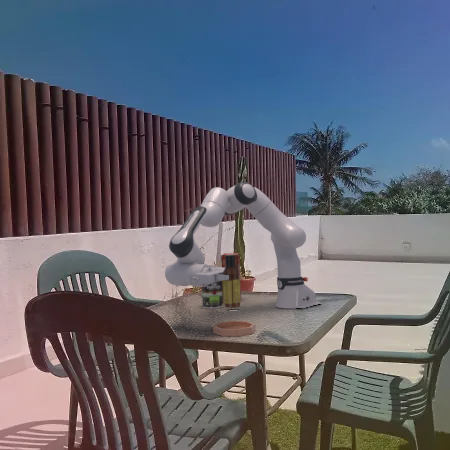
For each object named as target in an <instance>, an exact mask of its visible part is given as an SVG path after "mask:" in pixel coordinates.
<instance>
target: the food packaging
mask: <svg viewBox="0 0 450 450" xmlns="http://www.w3.org/2000/svg"><path fill="white" fill-rule="evenodd" d="M225 255H236V258H235V264H236V267H237V269H238V271H239V280H240V281H241V264H240V263H241V253H240V252H238V253H237V252H234V253H233V252H231V253H228V252H227V253H226V252H225V253H223V254H221V255H220V259H221V260H220V263H221V264H220V267H222V268H225V267H226V259H225ZM241 284H242V283H240V301H241V300H242V291H241V289H242V288H241ZM222 303H223V304H224V287H223V281H222Z"/></svg>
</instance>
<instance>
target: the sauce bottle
mask: <svg viewBox="0 0 450 450" xmlns="http://www.w3.org/2000/svg"><path fill="white" fill-rule="evenodd" d="M235 258H236V255H225V259H226V267H225V269H224V271H223V275H230V280H223V287H224V303H223V304H224V307H226V308H227V309H228V308H231V309H232V308H233V309H234V308H239V307H241V300H240V284H241V279H240V280H239V271H238V269H237V267H236V264H235Z"/></svg>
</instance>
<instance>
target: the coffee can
mask: <svg viewBox="0 0 450 450" xmlns="http://www.w3.org/2000/svg"><path fill="white" fill-rule="evenodd" d="M201 300H202V301H201V302H202V303H201V305H202V306H201V308H202V309H208V310H209V309H210V310H213V309H221V308H223V307H224V305H223V304H224V303H222V281H219V282H215V283H211V284H209V285H208V286H207V287H201Z"/></svg>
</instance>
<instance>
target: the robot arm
mask: <svg viewBox="0 0 450 450" xmlns="http://www.w3.org/2000/svg"><path fill="white" fill-rule="evenodd" d="M244 208H245V209H247V210H248V212H249V213H250V215H252V216H253V217H254V218H255V219H256V221H257V222H258V223H259V224H260V225H261V226H262V228H264V229H265V230H267V231H268V232H270V240H271V242H272V244H273V249H274V253H275V257H276V263H277V277H276V283H277V284H276V285H277V298H276V304H275V307H276V308H279V309H296V308H303V309H307V308H306V307H308V308H311V307H310V306H313V305H317V304H320V303H321V304H322V302H321V301H318V299H317V294H316V292H315V291H314V290H313V289H311V288H310V287H309V286H308V285H306V284H305V282H306V283H307V282H308V280H309V278H308V277H305V276H302V269H301V268H302V267H301V259H300V257H299V255H298V252H297V249H299V248H300V247H302V246H303V245H305V243H306V241H307V234H306V232H305V230H304V229H303V228H302V227H300V226H299V225H297V224H296V223H295V222H294V221H292V220H291V219H290V218H289V217H288V216H287V215H285V214H284V213H283V212H282V211H281V210H280V209H279V208H278V207H277V206H276V204H274V203H273V201H272V200H271V199H270V198H269V197H268V196H267V195H266V194H265V193H264V192H262V190H260V189H259V188H257V187H255V186H253V184H252V183H250V182H248V181H241V182H238V183H237V184H235V185H234V186H231V187H230V188H228V189H227V190H225V189H224V188H222V187H217V186H216V187H213V188H211V189H210V190H209V191H208V193H207V194H206V196H204V198H203V201H202V202H201V204H200V206H197V207H195V208H193V210H192V211H191V213H189V215H188V217H187V218H186V219H185V221H184V222H183V223H182V225H181V227H180V228H179V229H178V231H177V232H176V233H174V235H173V236H172V237H171V238H170V241H169V244H168V247H169V250H170V252H171V253H172V254H173V255H174V256H175V257H176V258H177V260H176V261H174V262H173V263H171V264H169V265H167V266H166V267H165V272H164V274H165V279H166V280H167V282H168V283H169V284H171V285H173V286H179V287H188V286H192V287H196V288H197V287H198V288H200V287H201V288H202V287H207V286H208V285H209V284H211V283H215V282H219V281H223V280H230V275H223V271H224V269H225V268H222V267H221V266H220V267H219V266H216V265H212V264H211V265H209V264H206V263H205V255H204V253H203V252H202V250H201V249H200V247H199V246H198V244H197V242H196V241H195V238H194V236H195V235H194V234H195V233H196V231H197V230H198V228H199V227H200V226H203V227H206V228H214V227H216V226H218V225H220V224H221V222H222V221H223V218H224V216H231V215H235V214H236V213H238V212H240V211H241V210H244ZM317 306H318V305H317ZM313 307H314V306H313Z"/></svg>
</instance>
